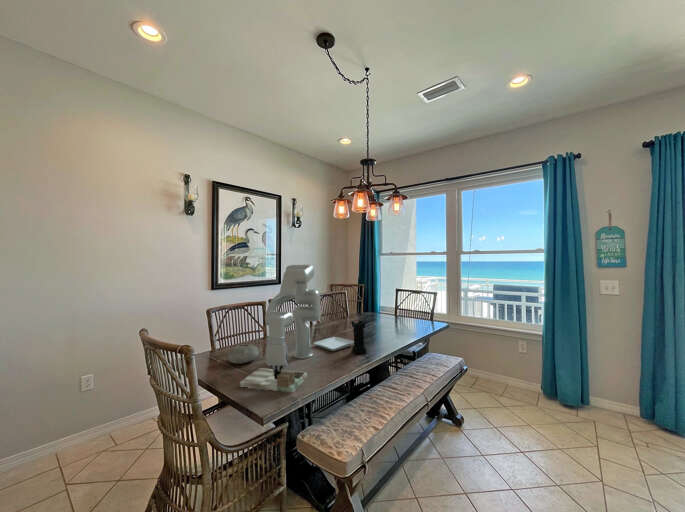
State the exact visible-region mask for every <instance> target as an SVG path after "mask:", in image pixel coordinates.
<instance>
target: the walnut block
mask: <svg viewBox="0 0 685 512" xmlns="http://www.w3.org/2000/svg"><path fill="white" fill-rule="evenodd" d="M291 371H292V370H288V371H282V372H281V373H280V374H278V375H277V386H280V387H287V388H289V387H290V386H291V385H292V384H293V383H294V382H295V372H291Z"/></svg>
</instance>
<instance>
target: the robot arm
mask: <svg viewBox="0 0 685 512" xmlns="http://www.w3.org/2000/svg"><path fill="white" fill-rule="evenodd" d="M314 276H315V268H314V266H313V265H312V264H290V265H287V266H286V268H285V271H284V272H283V277H282V281H281V285H280V289H279V292H278V294H276V295H275V296H274V297H273V298H272V299H271V301H270V302H269V303H268V305H267V309H266V311H265V312H266V313H265V317H264V321H265V324H266V325H267V326H268V337H267V338H266V341H267V345H266V349H265V364H266V365H267V366H268V367H270V369H273V371H274V377H275V379H277V375H278V374H280V373H281V370H283V368H287V367H288V366H289V364H288V362H289V351H288V346H287V343H286V342H285V341H286V338H285V335H286V334H285V329H286V328H288V327H290V326H292V324H293V323H294V331H295V332H294V333H295V338H294V339H295V352H293V354H292V356H293V358H295V359H300V360H301V359H303V360H304V359H310V358H311V357H313V356H314V351H312V348H313V347H312V345H311V327H310V325H309V323H308V322H318V321H320V320H321V316H322V310H321V309H322V308H321V297H320V296H321V295H320V292H319V291H318V290H317V289H308V283H309V282H310V281H311V280H312V279H313V278H314ZM292 299H294V301H295V303H296V304H297V306H296V307H295V308H294V309H293V313H292V312H290V311H276V309H277V308H278V306H280V305H282V304H284V303H286V302H288V301H291V300H292Z"/></svg>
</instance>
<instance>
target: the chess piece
mask: <svg viewBox="0 0 685 512" xmlns="http://www.w3.org/2000/svg"><path fill="white" fill-rule="evenodd" d="M350 323H351V327H352V328H353V330H352V332H353V341H354V343H353V345H352V348H351V350H350V352H351V353H352V354H353V355H355V356H363V355H368V351H367V349H366V346H365V344H364V343H365V342H364V341H365V340H364V339H365V338H364V336H365V335H364V334H365V329H364V328H366V321H363V320H358V322H355V321H350Z"/></svg>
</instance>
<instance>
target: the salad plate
mask: <svg viewBox="0 0 685 512" xmlns="http://www.w3.org/2000/svg"><path fill="white" fill-rule="evenodd" d="M313 344H314V345H315V346H316V347H319V348H321V349H324V350H326V351H327V350H328V351H332V352H336V351H340V350H342V349H345V348H348V347H350V346H353V345H354V340H351V339H347V338H342V337H339V336H331V337H329V338H324V339H322V340H318V341H315V342H313Z"/></svg>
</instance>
